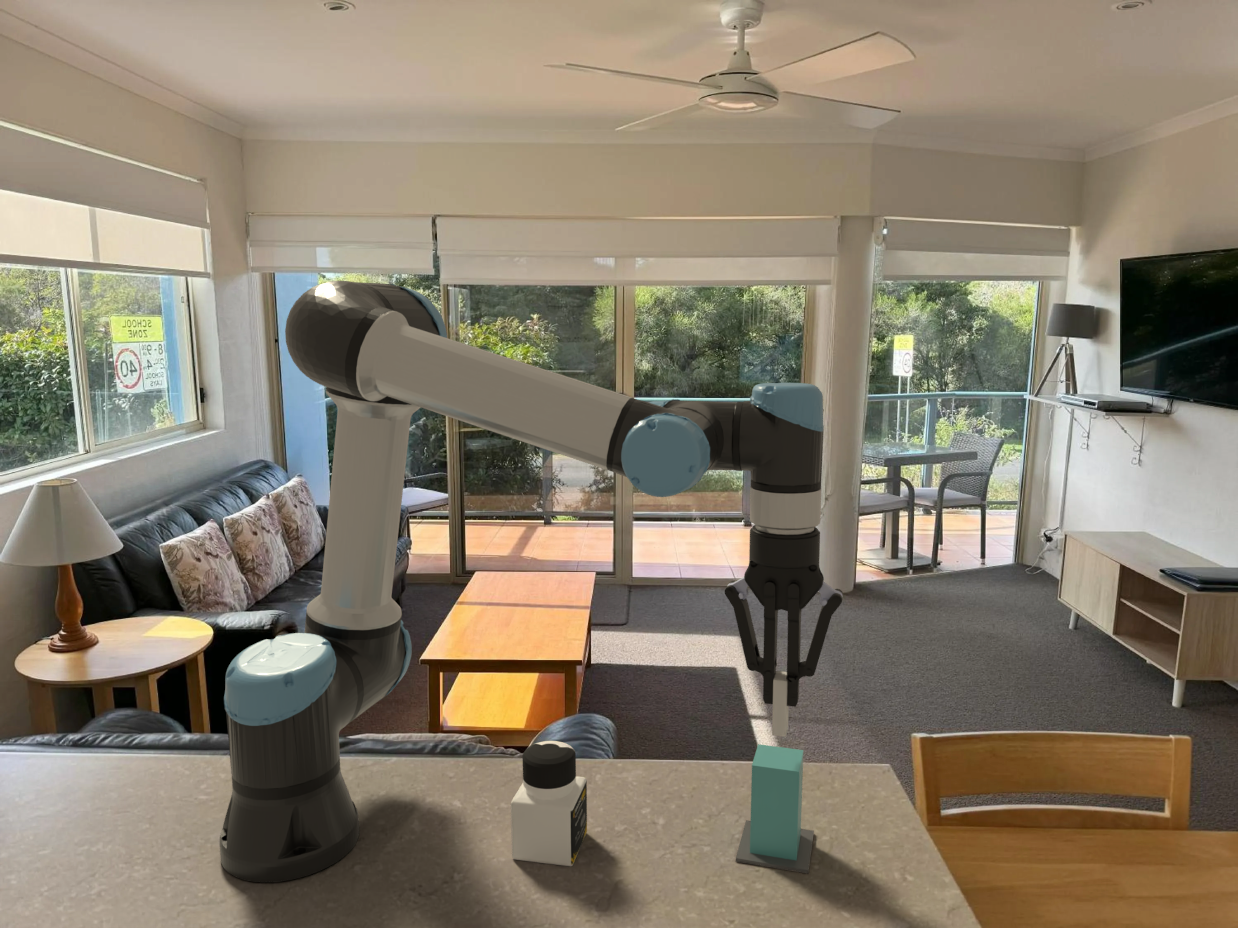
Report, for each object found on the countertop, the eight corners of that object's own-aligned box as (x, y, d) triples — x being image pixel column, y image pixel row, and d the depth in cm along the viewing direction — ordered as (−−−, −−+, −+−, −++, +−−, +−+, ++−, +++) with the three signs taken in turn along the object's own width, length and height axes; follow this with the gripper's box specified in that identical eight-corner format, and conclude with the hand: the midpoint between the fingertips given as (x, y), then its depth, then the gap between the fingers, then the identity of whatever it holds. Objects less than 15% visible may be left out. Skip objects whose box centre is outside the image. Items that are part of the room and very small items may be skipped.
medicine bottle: (572, 867, 98) (571, 766, 96) (511, 860, 99) (508, 760, 98) (587, 832, 105) (587, 737, 103) (530, 825, 106) (528, 731, 104)
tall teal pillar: (749, 852, 100) (751, 765, 98) (756, 827, 105) (758, 744, 103) (796, 860, 99) (799, 771, 97) (800, 834, 103) (803, 749, 102)
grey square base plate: (735, 861, 99) (736, 799, 98) (746, 822, 107) (747, 765, 106) (808, 873, 97) (810, 810, 96) (813, 833, 104) (815, 775, 103)
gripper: (848, 522, 98) (841, 723, 101) (730, 515, 101) (728, 710, 105) (845, 537, 90) (838, 753, 94) (719, 530, 94) (716, 738, 98)
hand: (780, 730), depth 100 cm, fingers closed
